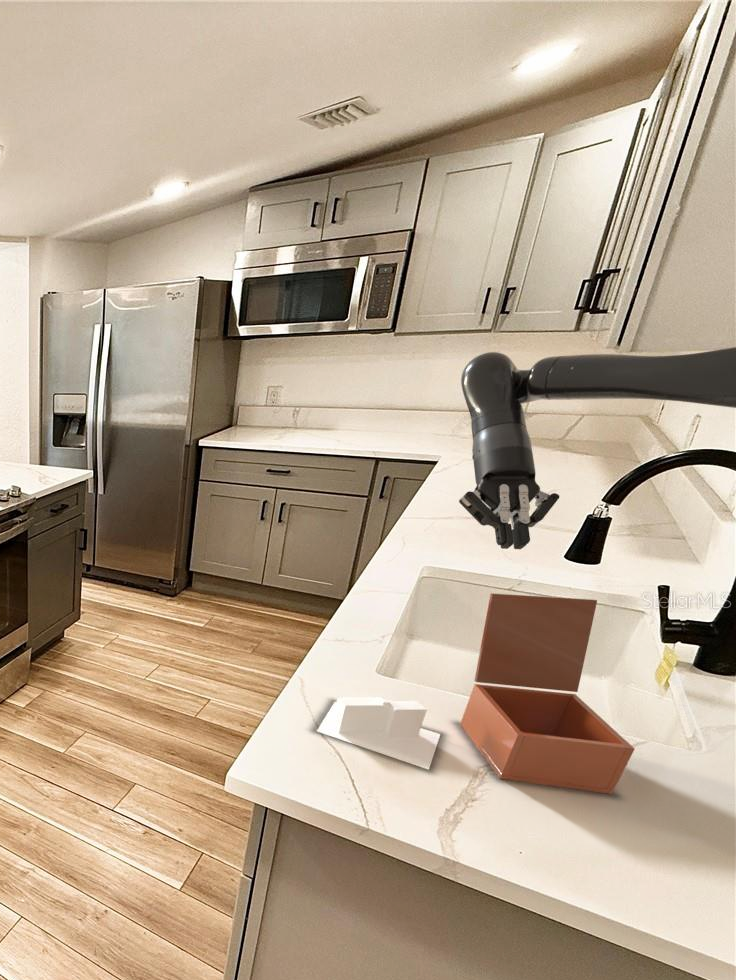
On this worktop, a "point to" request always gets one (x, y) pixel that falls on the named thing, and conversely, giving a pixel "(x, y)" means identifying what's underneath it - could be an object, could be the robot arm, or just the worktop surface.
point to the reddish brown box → (545, 738)
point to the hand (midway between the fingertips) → (514, 546)
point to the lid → (535, 641)
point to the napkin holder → (383, 727)
